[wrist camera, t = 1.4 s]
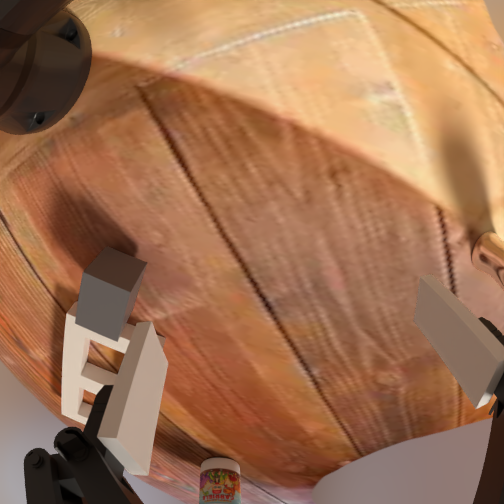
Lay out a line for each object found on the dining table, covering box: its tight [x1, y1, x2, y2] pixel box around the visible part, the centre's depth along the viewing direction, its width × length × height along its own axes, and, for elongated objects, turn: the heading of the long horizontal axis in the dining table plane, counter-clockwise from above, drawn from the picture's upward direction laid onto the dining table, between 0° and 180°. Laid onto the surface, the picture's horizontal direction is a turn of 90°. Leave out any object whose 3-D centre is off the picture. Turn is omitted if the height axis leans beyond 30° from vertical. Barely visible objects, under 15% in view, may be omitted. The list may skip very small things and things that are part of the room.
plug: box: [75, 246, 147, 342], centre depth 32 cm, size 5×6×8 cm
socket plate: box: [62, 301, 166, 425], centre depth 40 cm, size 13×24×3 cm, turn 155°
